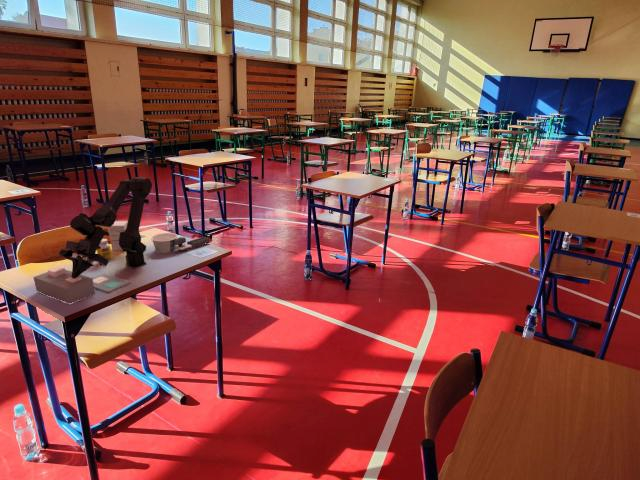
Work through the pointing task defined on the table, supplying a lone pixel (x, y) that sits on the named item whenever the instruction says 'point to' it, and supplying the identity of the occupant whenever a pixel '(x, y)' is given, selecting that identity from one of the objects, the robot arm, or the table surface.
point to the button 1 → (56, 271)
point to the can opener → (190, 243)
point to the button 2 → (73, 279)
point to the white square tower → (116, 233)
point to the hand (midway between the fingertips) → (73, 278)
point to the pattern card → (108, 283)
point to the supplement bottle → (105, 249)
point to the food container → (164, 242)
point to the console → (64, 286)
